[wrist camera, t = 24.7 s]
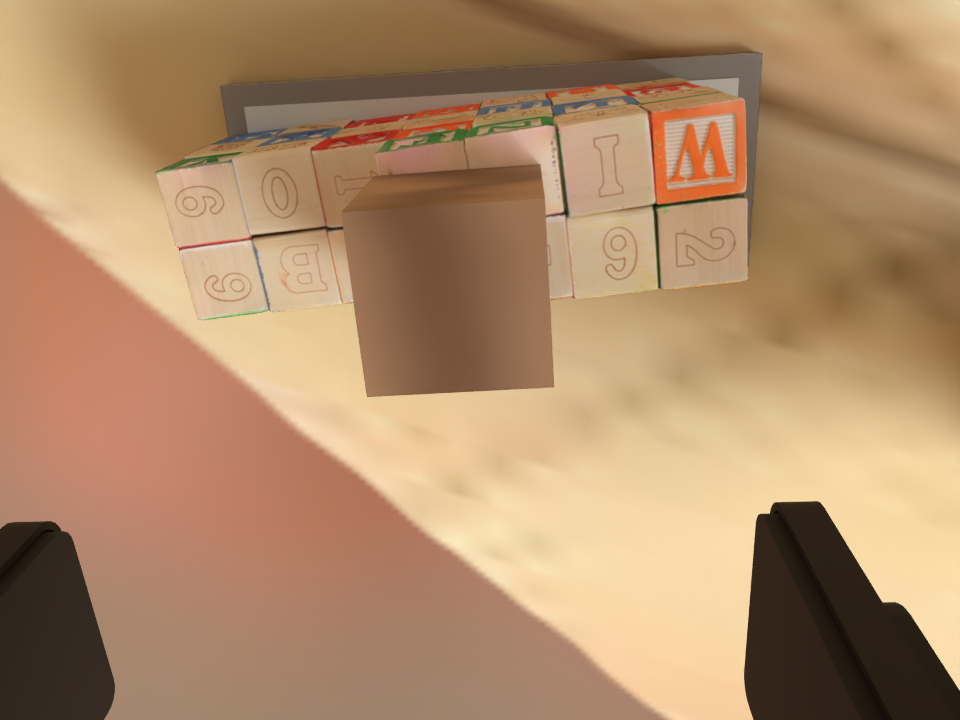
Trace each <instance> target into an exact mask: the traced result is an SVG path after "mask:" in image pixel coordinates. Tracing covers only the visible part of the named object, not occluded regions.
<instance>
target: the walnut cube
mask: <svg viewBox="0 0 960 720" xmlns="http://www.w3.org/2000/svg"><path fill="white" fill-rule="evenodd" d="M341 217H342V224H343V231H344V238H345V245H346V252H347V259H348V266H349V273H350V280H351V288H352V295H353V302H354V309H355V316H356V323H357V330H358V337H359V344H360V351H361V358H362V365H363V372H364V379H365V386H366V393H367V397H375V396H394V395H413V394H432V393H452V392H471V391H490V390H510V389H529V388H548V387H554V378H553V357H552V336H551V315H550V294H549V273H548V252H547V231H546V210H545V195H544V188H543V180H542V173H541V166H540V164H537V165H522V166H508V167H494V168H480V169H466V170H452V171H438V172H424V173H409V174H395V175H381V176H373V178H372V179H371V180H370V181H369V182H368V183H367V184H366V185H365V186H364V187H363V189H362V190H361V191H360V192H359V193H358V194H357V195H356V196H355V197H354V198H353V200H352V201H351V202H350V203H349V204H348V205H347V206H346V207H345V208H344V209H343V210H342V212H341Z"/></svg>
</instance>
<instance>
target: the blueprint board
mask: <svg viewBox="0 0 960 720" xmlns="http://www.w3.org/2000/svg"><path fill="white" fill-rule="evenodd" d="M761 65H762V53H759V52H751V53H735V54H718V55H702V56H685V57H669V58H652V59H636V60H620V61H603V62H587V63H570V64H554V65H537V66H521V67H505V68H488V69H472V70H455V71H439V72H422V73H406V74H390V75H373V76H357V77H340V78H324V79H307V80H291V81H275V82H258V83H242V84H227V85H222V86H220V88H221V94H222V100H223V106H224V111H225V117H226V123H227V129H228V135H229V137H230V136H234V135H240V134H248V133H254V132H261V131H269V130H277V129H285V128H291V127H293V126H299V125H306V124H314V123H322V122H329V121H337V120H345V119H354V120H355V121H360V120H367V119H374V118H382V117H389V116H396V115H405V114H414V113H418V112H420V111H425V110H433V109H441V108H448V107H457V106H463V105H469V104H479V103H481V102H482V101H483V100H488V99H495V98H503V97H510V96H518V95H526V94H535V93H547V92H552V91H560V90H568V89H575V88H583V87H590V86H598V85H606V84H612V85H620V84H629V83H637V82H645V81H653V80H661V79H668V78H681V79H685V80H689V81H690V83H691V84H695V85H699V86H702V87H703V86H708V87H711V88H714V89H718V90H719V91H722V92H724V93H725V94H729V95H733V96H737V97H741V98H743V99H744V100H745V108H746V155H747V185H746V191H745V192H744V193H743V195H744V196H745V197H746V198H747V202H748V216H747V267H748V264H749V249H750V233H751V218H752V203H753V188H754V172H755V157H756V142H757V126H758V111H759V96H760V80H761Z"/></svg>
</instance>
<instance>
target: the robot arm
mask: <svg viewBox="0 0 960 720" xmlns="http://www.w3.org/2000/svg"><path fill="white" fill-rule="evenodd" d="M744 681H745V691H746V696H747V701H748V704H749V707H750V710H751V713H752V716H753V719H754V720H960V691H959V689H958V688H957V686H956V684H955V683H954V681H953V680H952V678H951V677H950V675H949V674H948V672H947V671H946V669H945V667H944V666H943V664H942V663H941V661H940V660H939V658H938V657H937V655H936V654H935V652H934V650H933V649H932V647H931V646H930V644H929V643H928V641H927V640H926V638H925V637H924V635H923V633H922V632H921V630H920V629H919V627H918V626H917V624H916V623H915V621H914V620H913V618H912V616H911V615H910V614H909V612H908V611H907V610H906V609H905V608H904V607H903V606H902V605H900V604H898V603H896V602H888V603H882V601H881V600H880V598H879V596H878V595H877V593H876V591H875V590H874V588H873V586H872V585H871V583H870V582H869V580H868V578H867V577H866V575H865V573H864V572H863V570H862V569H861V567H860V565H859V564H858V562H857V560H856V559H855V557H854V555H853V554H852V552H851V551H850V549H849V547H848V546H847V544H846V542H845V541H844V539H843V538H842V536H841V534H840V533H839V531H838V529H837V528H836V526H835V524H834V523H833V521H832V520H831V518H830V516H829V515H828V513H827V511H826V510H825V508H824V507H823V505H822V504H821V503H820V502H817V501H813V502H775V503H774V504H773V505H772V507H771V511H770V514H759V515H758V517H757V520H756V529H755V542H754V555H753V568H752V580H751V593H750V606H749V618H748V631H747V644H746V657H745V669H744ZM114 693H115V684H114V678H113V675H112V672H111V668H110V665H109V661H108V658H107V655H106V651H105V648H104V645H103V641H102V638H101V634H100V631H99V627H98V624H97V620H96V617H95V614H94V611H93V607H92V603H91V600H90V597H89V593H88V590H87V586H86V583H85V580H84V576H83V573H82V569H81V566H80V563H79V560H78V556H77V552H76V549H75V546H74V542H73V540H72V537H71V536H70V535H69V534H68V533H67V532H62V531H61V529H60V527H59V526H58V525H57V524H56V523H54V522H51V521H45V522H13V523H8V524H6V525H5V526H3V527H2V528H1V529H0V720H104V719H105V717H106V715H107V713H108V711H109V710H110V708H111V705H112V702H113V699H114Z"/></svg>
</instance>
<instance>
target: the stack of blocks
mask: <svg viewBox="0 0 960 720" xmlns="http://www.w3.org/2000/svg"><path fill="white" fill-rule="evenodd" d="M537 164H540V166H541V173H542V180H543V188H544V195H545V210H546V231H547V252H548V273H549V294H550V300H554V299H561V298H567V297H573V298H575V299H584V298H593V297H602V296H610V295H618V294H627V293H636V292H644V291H652V290H656V289H658V288H660V289H664V290H673V289H682V288H692V287H702V286H711V285H721V284H730V283H739V282H743V281H746V280H747V277H748V267H747V216H748V202H747V198H746V197H745V196H744V195H743V193H744V192H745V191H746V185H747V155H746V108H745V100H744V99H743V98H741V97H737V96H733V95H729V94H725V93H724V92H722V91H719V90H718V89H714V88H711V87H708V86H703V87H702V86H699V85H695V84H691V83H690V81H689V80H685V79H681V78H668V79H661V80H653V81H645V82H637V83H629V84H620V85H612V84H606V85H598V86H590V87H583V88H575V89H568V90H560V91H552V92H547V93H535V94H526V95H518V96H510V97H503V98H495V99H488V100H483V101H482V102H481V103H479V104H469V105H463V106H457V107H448V108H441V109H433V110H425V111H420V112H418V113H414V114H405V115H396V116H389V117H382V118H374V119H367V120H360V121H355V120H354V119H345V120H337V121H329V122H322V123H314V124H306V125H299V126H293V127H291V128H285V129H277V130H269V131H261V132H254V133H248V134H240V135H234V136H230V137H228V138H226V139H224V140H221V141H219V142H217V143H214V144H212V145H208V146H206V147H204V148H201V149H199V150H196V151H194V152H192V153H190V154H187V155H186V156H184V160H181V161H179V162H177V163H175V164H173V165H170V166H168V167H165V168H163V169H162V170H159V171H157V172H156V176H157V180H158V183H159V187H160V191H161V194H162V198H163V201H164V205H165V208H166V212H167V215H168V219H169V223H170V227H171V231H172V234H173V238H174V241H175V245H176V246H177V247H178V248H179V252H180V258H181V261H182V265H183V269H184V273H185V276H186V280H187V283H188V287H189V289H190V293H191V298H192V301H193V304H194V308H195V312H196V315H197V318H198V319H199V320H209V319H216V318H224V317H231V316H239V315H248V314H255V313H261V312H265V311H268V310H270V311H271V312H280V311H288V310H296V309H304V308H311V307H319V306H327V305H336V304H340V303H354V302H353V295H352V288H351V280H350V273H349V266H348V259H347V252H346V245H345V238H344V231H343V224H342V217H341V212H342V210H343V209H344V208H345V207H346V206H347V205H348V204H349V203H350V202H351V201H352V200H353V198H354V197H355V196H356V195H357V194H358V193H359V192H360V191H361V190H362V189H363V187H364V186H365V185H366V184H367V183H368V182H369V181H370V180H371V179H372V178H373V176H381V175H395V174H409V173H424V172H438V171H452V170H466V169H480V168H494V167H508V166H522V165H537Z"/></svg>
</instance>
